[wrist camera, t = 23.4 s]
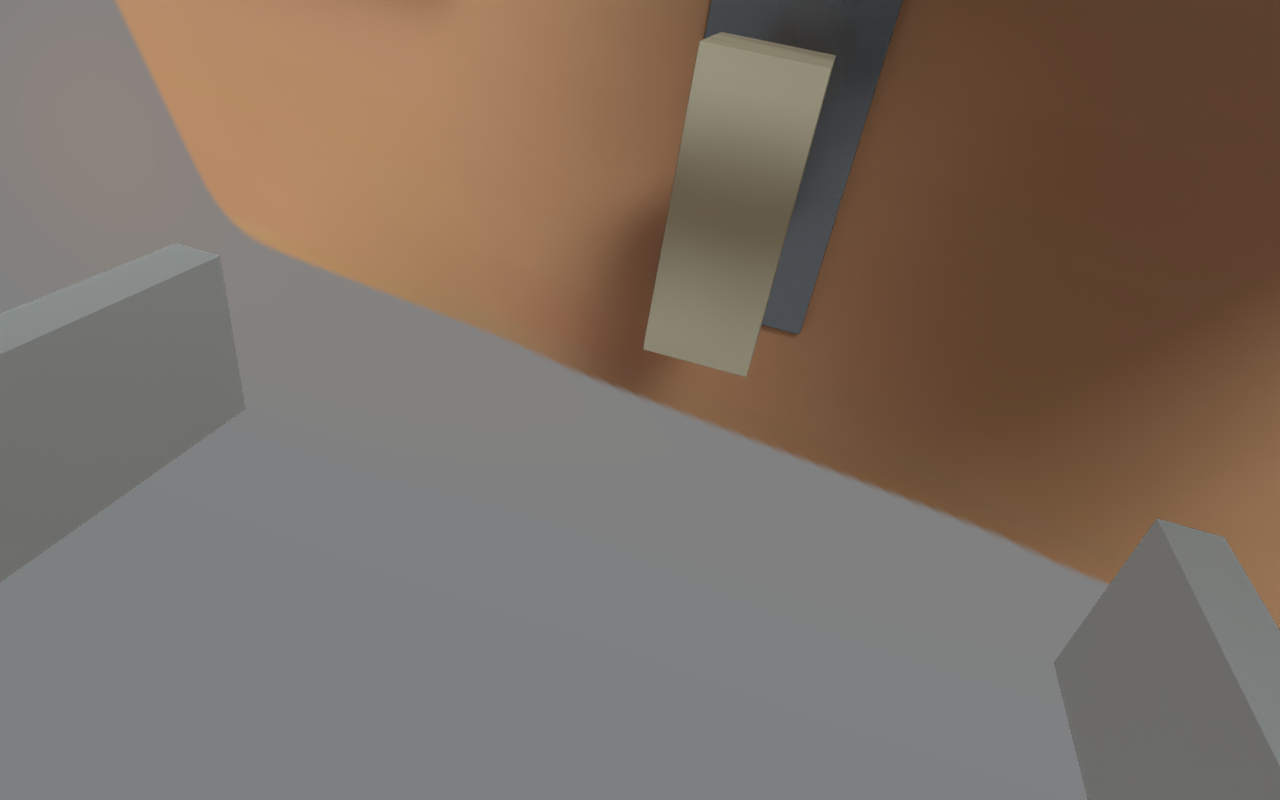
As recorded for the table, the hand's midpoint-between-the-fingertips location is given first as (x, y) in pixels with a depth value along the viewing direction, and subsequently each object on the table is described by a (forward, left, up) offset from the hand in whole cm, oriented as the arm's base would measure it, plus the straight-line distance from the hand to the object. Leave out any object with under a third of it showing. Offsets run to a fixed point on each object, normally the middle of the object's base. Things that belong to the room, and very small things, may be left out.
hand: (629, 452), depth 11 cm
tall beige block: (0, -1, -20) cm, 20 cm away
